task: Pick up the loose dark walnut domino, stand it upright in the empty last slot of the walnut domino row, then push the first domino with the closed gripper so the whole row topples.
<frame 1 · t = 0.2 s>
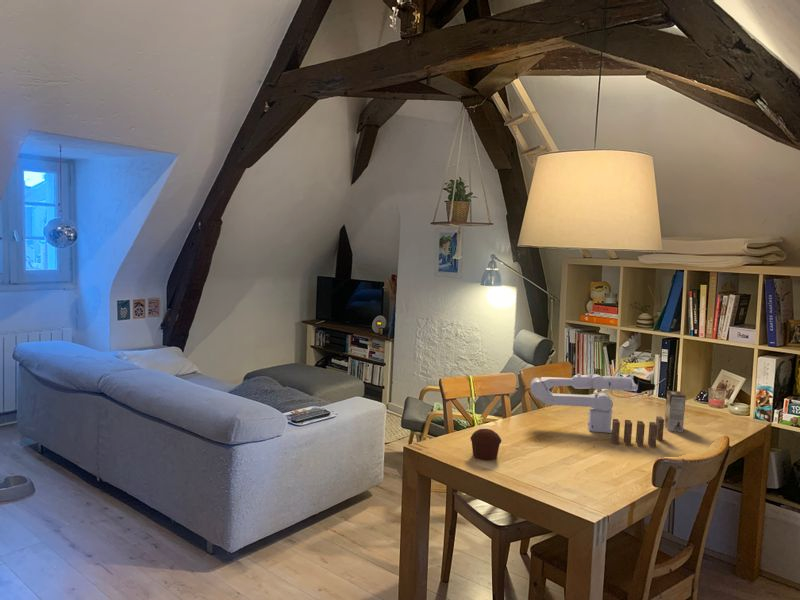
hand: (652, 385, 269), 21 cm above the table, tool horizontal, fingers open, 7 cm apart
domino 3: (639, 444, 257), on the table
domino 1: (614, 442, 258), on the table
domino 5: (658, 439, 265), on the table
coffee box: (673, 429, 281), on the table
muffin: (484, 456, 236), on the table
domino 4: (651, 445, 256), on the table
domino 2: (627, 443, 258), on the table
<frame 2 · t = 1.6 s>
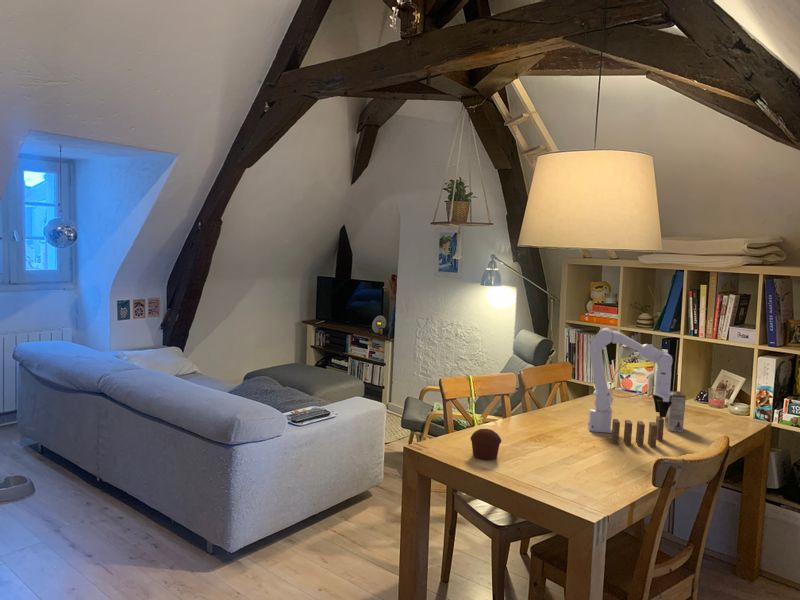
hand: (660, 414, 264), 10 cm above the table, tool pointing down, fingers open, 7 cm apart
nothing on the table moved.
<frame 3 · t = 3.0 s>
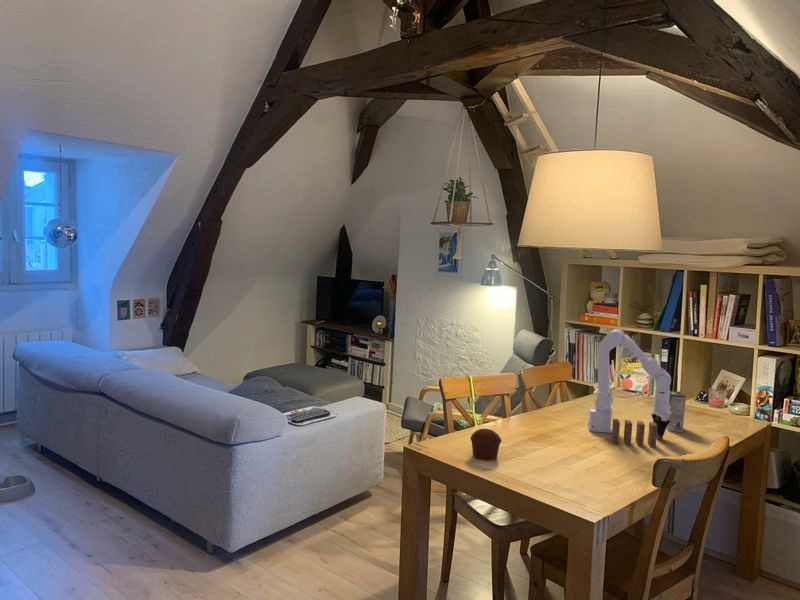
hand: (659, 433, 265), 2 cm above the table, tool pointing down, fingers closed on domino 5, 5 cm apart
domino 5: (658, 439, 265), on the table, touching gripper
everything else where it was.
when the fingers open (3 cm above the table, at t = 6.9 s): domino 5 drops 1 cm, on the table.
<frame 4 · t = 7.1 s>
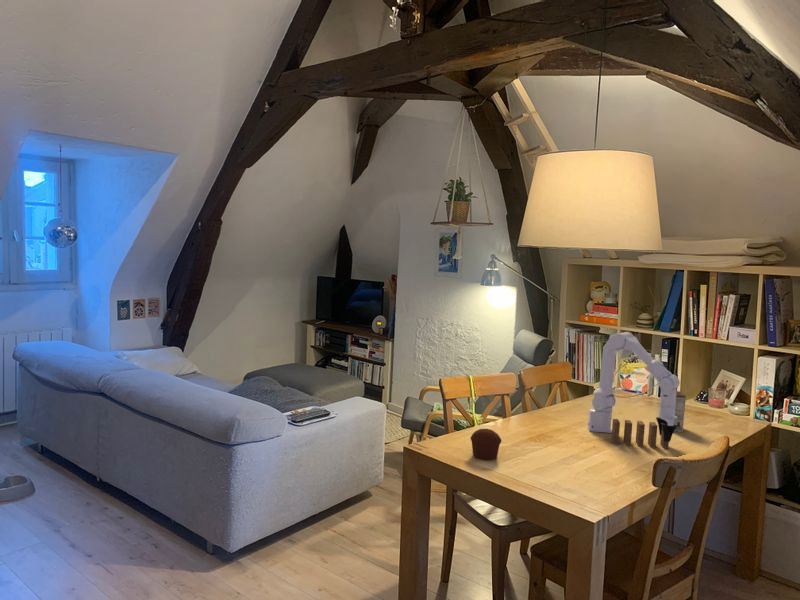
hand: (664, 438, 255), 3 cm above the table, tool pointing down, fingers open, 7 cm apart
domino 5: (664, 446, 255), on the table
everything else where it was.
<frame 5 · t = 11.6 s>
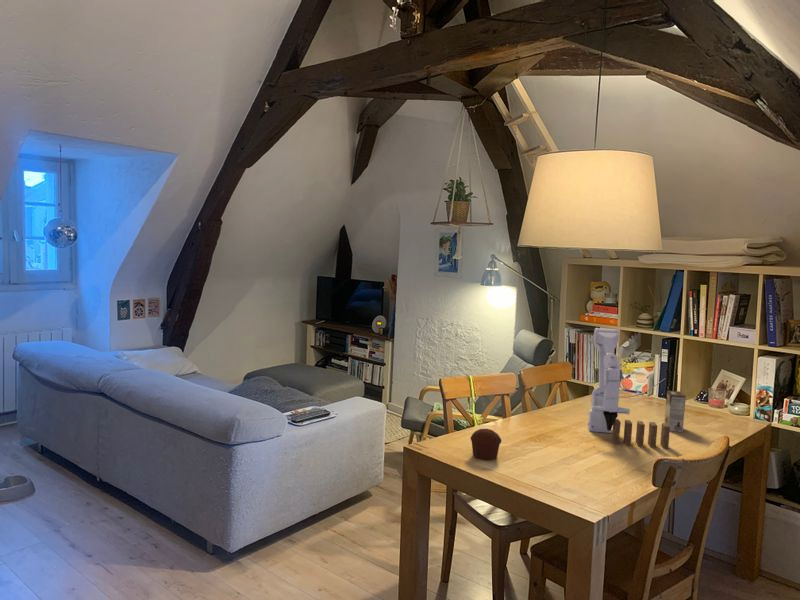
hand: (608, 429, 258), 5 cm above the table, tool pointing down, fingers closed
domino 1: (614, 442, 258), on the table, touching gripper
everything else where it was.
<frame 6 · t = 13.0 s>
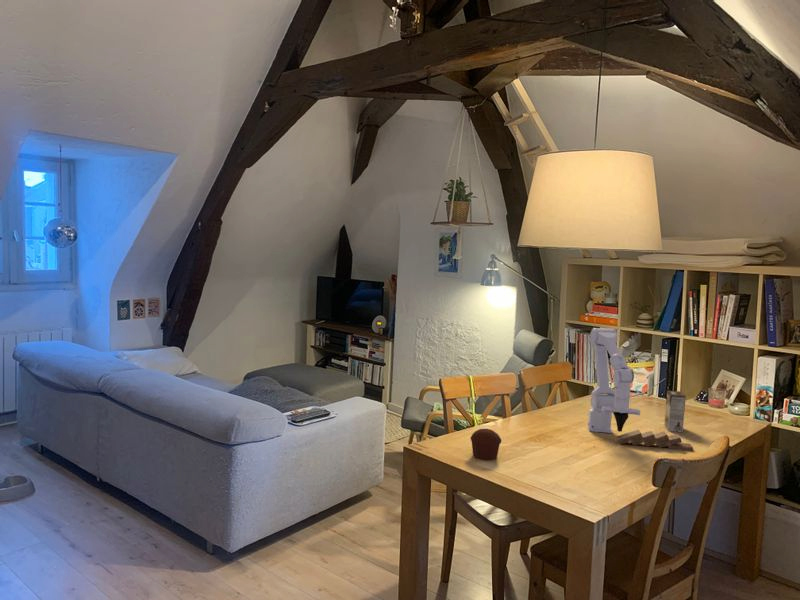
hand: (619, 430, 258), 5 cm above the table, tool pointing down, fingers closed
domino 3: (644, 442, 256), point 1 cm above the table, tilted 65°, touching domino 2, domino 4
domino 1: (618, 440, 258), point 1 cm above the table, tilted 66°, touching domino 2
domino 5: (667, 445, 255), on the table, tilted 90°, touching domino 4
domino 4: (656, 443, 256), point 1 cm above the table, tilted 70°, touching domino 3, domino 5
domino 2: (631, 441, 257), point 1 cm above the table, tilted 66°, touching domino 1, domino 3
everything else where it was.
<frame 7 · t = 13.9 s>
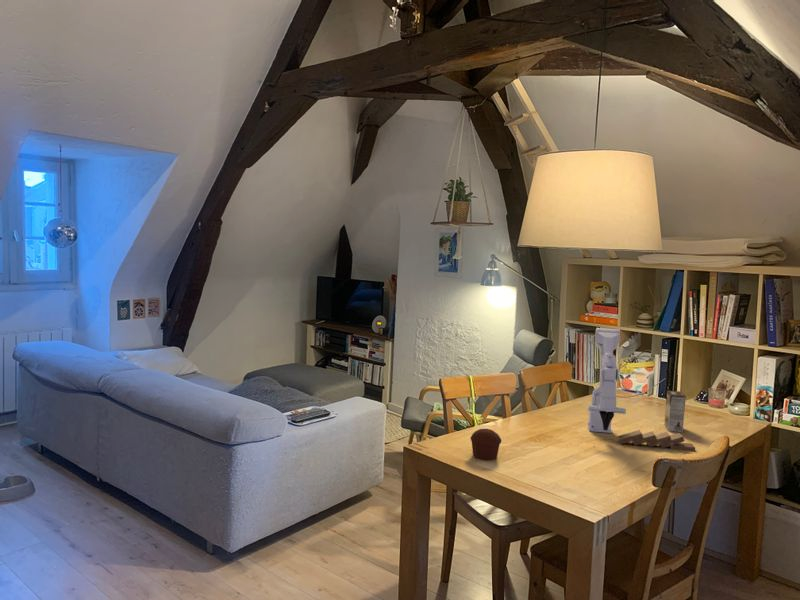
hand: (605, 429, 259), 5 cm above the table, tool pointing down, fingers closed
domino 3: (646, 442, 256), point 1 cm above the table, tilted 66°, touching domino 2, domino 4
domino 4: (659, 443, 255), point 1 cm above the table, tilted 67°, touching domino 3, domino 5
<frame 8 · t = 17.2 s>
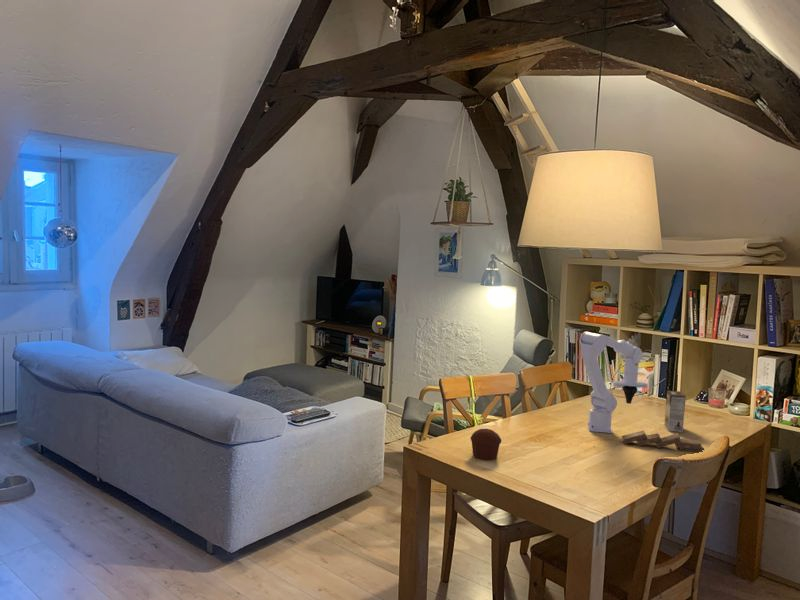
hand: (628, 403, 281), 10 cm above the table, tool pointing down, fingers closed
domino 3: (656, 443, 255), point 1 cm above the table, tilted 63°, touching domino 2
domino 1: (622, 440, 259), point 1 cm above the table, tilted 68°, touching domino 2
domino 5: (678, 447, 254), on the table, tilted 90°, touching domino 4
domino 4: (675, 442, 253), point 2 cm above the table, tilted 89°, touching domino 5
domino 2: (636, 441, 257), point 1 cm above the table, tilted 71°, touching domino 1, domino 3
everything else where it was.
at the end: domino 5 inside the target area (0.1 cm from its centre), on the table; domino 5 tilted 90°; domino 3 tilted 65° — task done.
